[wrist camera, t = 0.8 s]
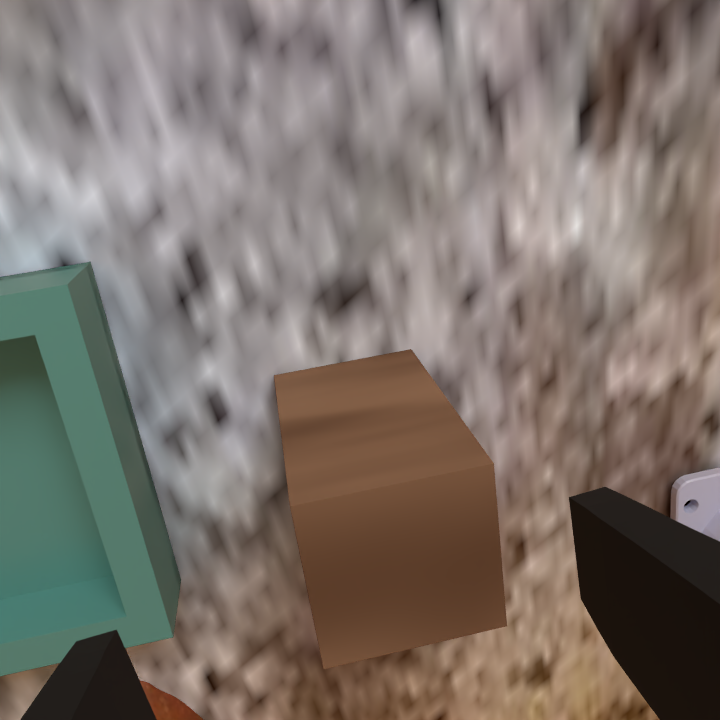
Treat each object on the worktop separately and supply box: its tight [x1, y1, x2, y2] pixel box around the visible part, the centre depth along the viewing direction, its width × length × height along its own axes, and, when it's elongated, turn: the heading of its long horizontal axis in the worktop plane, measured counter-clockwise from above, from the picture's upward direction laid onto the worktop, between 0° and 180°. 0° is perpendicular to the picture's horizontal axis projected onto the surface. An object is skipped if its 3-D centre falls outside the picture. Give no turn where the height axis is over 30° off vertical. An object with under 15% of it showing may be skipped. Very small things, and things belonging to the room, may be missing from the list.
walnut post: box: [274, 349, 507, 669], centre depth 17 cm, size 4×4×7 cm
